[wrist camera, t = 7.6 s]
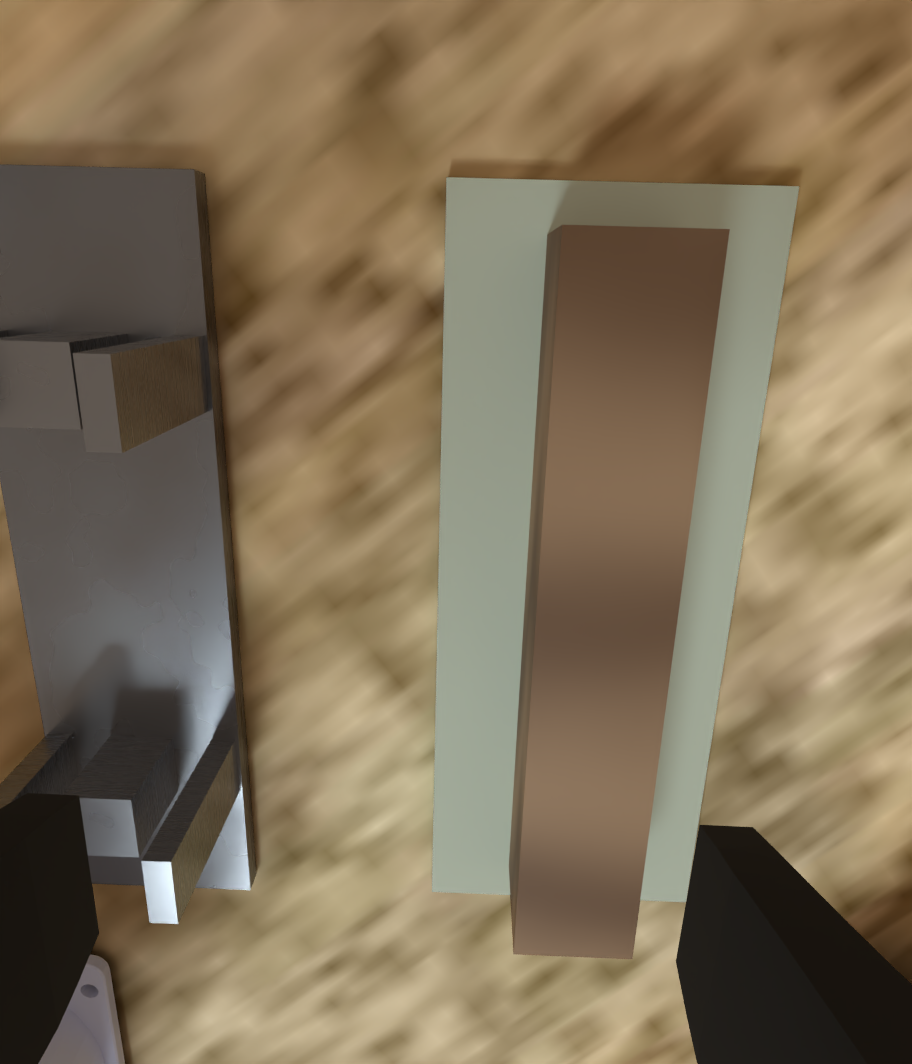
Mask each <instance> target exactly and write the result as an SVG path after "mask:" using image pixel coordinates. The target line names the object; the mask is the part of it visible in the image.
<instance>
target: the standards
mask: <svg viewBox="0 0 912 1064" xmlns="http://www.w3.org/2000/svg"><path fill="white" fill-rule="evenodd" d="M0 482H1V487H2V493H3V499H4V504H5V510H6V516H7V522H8V527H9V533H10V539H11V545H12V550H13V556H14V562H15V568H16V573H17V579H18V585H19V590H20V596H21V602H22V608H23V613H24V619H25V625H26V631H27V636H28V642H29V648H30V653H31V659H32V665H33V671H34V676H35V682H36V688H37V694H38V699H39V705H40V711H41V716H42V722H43V728H44V734H45V737H44V738H43V739H42V741H41V742H40V743H39V744H38V745H37V746H36V747H35V748H34V749H33V750H32V751H31V752H30V753H29V754H28V755H27V756H26V757H25V758H24V760H23V761H22V762H21V763H20V764H19V765H18V766H17V767H16V768H15V769H14V770H13V771H12V772H11V773H10V774H9V775H8V776H7V777H6V779H5V780H4V781H3V782H2V783H1V784H0V809H1V808H2V807H4V806H6V805H7V804H9V803H11V802H13V801H14V800H16V799H18V798H19V797H21V796H23V795H25V794H26V793H38V794H59V795H79V798H80V805H81V812H82V819H83V826H84V833H85V840H86V847H87V854H88V861H89V867H90V874H91V881H92V884H117V885H141V886H145V893H146V900H147V907H148V915H149V922H150V923H166V924H178V923H179V921H180V919H181V917H182V915H183V913H184V910H185V908H186V906H187V904H188V902H189V900H190V897H191V895H192V893H193V891H194V889H195V888H214V889H238V890H251V887H252V884H253V882H254V879H255V876H256V861H255V847H254V834H253V820H252V807H251V793H250V780H249V766H248V753H247V739H246V726H245V712H244V699H243V685H242V672H241V658H240V645H239V631H238V618H237V604H236V591H235V577H234V564H233V550H232V537H231V523H230V509H229V496H228V482H227V469H226V455H225V442H224V428H223V415H222V401H221V388H220V374H219V361H218V347H217V334H216V320H215V307H214V293H213V280H212V266H211V253H210V239H209V226H208V212H207V199H206V185H205V174H204V173H202V172H199V171H197V170H194V169H155V168H116V167H77V166H38V165H0Z"/></svg>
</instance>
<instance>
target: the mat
mask: <svg viewBox="0 0 912 1064" xmlns="http://www.w3.org/2000/svg"><path fill="white" fill-rule="evenodd" d="M798 192H799V186H767V185H728V184H689V183H650V182H611V181H572V180H533V179H494V178H455V177H447V179H446V229H445V278H444V327H443V376H442V426H441V475H440V524H439V574H438V623H437V672H436V721H435V771H434V820H433V869H432V892H450V893H474V894H498V895H510V880H509V853H510V837H511V820H512V804H513V787H514V771H515V755H516V738H517V722H518V705H519V689H520V673H521V656H522V640H523V623H524V607H525V591H526V574H527V558H528V541H529V525H530V509H531V492H532V476H533V459H534V443H535V427H536V410H537V394H538V377H539V361H540V345H541V328H542V312H543V295H544V279H545V263H546V246H547V234H549V233H550V232H552V231H553V230H555V229H556V228H558V227H559V226H561V225H595V226H632V227H670V228H707V229H730V231H729V239H728V246H727V254H726V261H725V269H724V276H723V284H722V291H721V299H720V306H719V314H718V321H717V329H716V336H715V344H714V351H713V358H712V366H711V373H710V381H709V388H708V396H707V403H706V411H705V418H704V426H703V433H702V441H701V448H700V456H699V463H698V471H697V478H696V486H695V493H694V501H693V508H692V516H691V523H690V531H689V538H688V546H687V553H686V561H685V568H684V576H683V583H682V591H681V598H680V606H679V613H678V621H677V628H676V635H675V643H674V650H673V658H672V665H671V673H670V680H669V688H668V695H667V703H666V710H665V718H664V725H663V733H662V740H661V748H660V755H659V763H658V770H657V778H656V785H655V793H654V800H653V808H652V815H651V823H650V830H649V838H648V845H647V853H646V860H645V868H644V875H643V883H642V890H641V898H640V900H645V901H669V902H686V898H687V892H688V885H689V879H690V873H691V867H692V860H693V854H694V848H695V841H696V835H697V829H698V822H699V816H700V810H701V803H702V797H703V791H704V785H705V778H706V772H707V766H708V759H709V753H710V747H711V740H712V734H713V728H714V721H715V715H716V709H717V703H718V696H719V690H720V684H721V677H722V671H723V665H724V658H725V652H726V646H727V640H728V633H729V627H730V621H731V614H732V608H733V602H734V595H735V589H736V583H737V576H738V570H739V564H740V558H741V551H742V545H743V539H744V532H745V526H746V520H747V513H748V507H749V501H750V494H751V488H752V482H753V476H754V469H755V463H756V457H757V450H758V444H759V438H760V431H761V425H762V419H763V412H764V406H765V400H766V394H767V387H768V381H769V375H770V368H771V362H772V356H773V349H774V343H775V337H776V330H777V324H778V318H779V312H780V305H781V299H782V293H783V286H784V280H785V274H786V267H787V261H788V255H789V249H790V242H791V236H792V230H793V223H794V217H795V211H796V204H797V198H798Z"/></svg>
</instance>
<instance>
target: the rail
mask: <svg viewBox="0 0 912 1064" xmlns="http://www.w3.org/2000/svg"><path fill="white" fill-rule="evenodd" d="M729 231H730V229H707V228H670V227H632V226H595V225H561V226H559V227H558V228H556V229H555V230H553V231H552V232H550V233H549V234H547V246H546V263H545V279H544V295H543V312H542V328H541V345H540V361H539V377H538V394H537V410H536V427H535V443H534V459H533V476H532V492H531V509H530V525H529V541H528V558H527V574H526V591H525V607H524V623H523V640H522V656H521V673H520V689H519V705H518V722H517V738H516V755H515V771H514V787H513V804H512V820H511V837H510V853H509V880H510V898H511V916H512V934H513V952H514V954H522V955H545V956H569V957H593V958H616V959H632V957H633V950H634V942H635V935H636V927H637V920H638V913H639V905H640V898H641V890H642V883H643V875H644V868H645V860H646V853H647V845H648V838H649V830H650V823H651V815H652V808H653V800H654V793H655V785H656V778H657V770H658V763H659V755H660V748H661V740H662V733H663V725H664V718H665V710H666V703H667V695H668V688H669V680H670V673H671V665H672V658H673V650H674V643H675V635H676V628H677V621H678V613H679V606H680V598H681V591H682V583H683V576H684V568H685V561H686V553H687V546H688V538H689V531H690V523H691V516H692V508H693V501H694V493H695V486H696V478H697V471H698V463H699V456H700V448H701V441H702V433H703V426H704V418H705V411H706V403H707V396H708V388H709V381H710V373H711V366H712V358H713V351H714V344H715V336H716V329H717V321H718V314H719V306H720V299H721V291H722V284H723V276H724V269H725V261H726V254H727V246H728V239H729Z"/></svg>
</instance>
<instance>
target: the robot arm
mask: <svg viewBox="0 0 912 1064" xmlns="http://www.w3.org/2000/svg"><path fill="white" fill-rule="evenodd" d="M98 934H99V930H98V923H97V916H96V909H95V902H94V895H93V888H92V881H91V874H90V867H89V861H88V854H87V847H86V840H85V833H84V826H83V819H82V812H81V805H80V798H79V795H59V794H38V793H26V794H25V795H23V796H21V797H19V798H18V799H16V800H14V801H13V802H11V803H9V804H7V805H6V806H4V807H2V808H1V809H0V1064H125V1060H124V1054H123V1047H122V1041H121V1035H120V1029H119V1023H118V1016H117V1010H116V1004H115V998H114V992H113V985H112V979H111V973H110V968H109V965H108V963H107V962H106V961H105V960H104V959H103V958H101V957H99V956H96V955H90V953H91V951H92V949H93V946H94V944H95V941H96V939H97V937H98ZM676 964H677V969H678V974H679V979H680V984H681V989H682V994H683V999H684V1004H685V1009H686V1014H687V1019H688V1023H689V1028H690V1033H691V1037H692V1042H693V1046H694V1051H695V1055H696V1060H697V1063H698V1064H912V984H911V983H909V982H908V981H907V980H906V979H905V978H904V977H903V976H902V975H901V974H900V973H899V972H898V971H897V970H896V969H895V968H894V967H893V966H892V965H891V964H890V963H889V962H888V961H887V960H886V959H885V958H883V957H882V956H881V955H880V954H879V953H878V952H877V951H876V950H875V949H874V948H873V947H872V946H871V945H870V944H869V943H868V942H867V941H866V940H865V939H864V938H863V937H862V936H861V935H860V934H859V933H858V932H857V931H856V930H855V929H854V928H853V927H852V926H851V925H850V924H849V923H848V922H847V921H846V920H845V919H844V918H843V917H842V916H841V915H840V914H839V913H838V912H837V911H836V910H835V909H834V908H833V907H832V906H831V905H830V904H829V903H828V902H827V901H826V900H825V899H824V898H823V897H822V896H821V895H820V894H819V893H818V892H817V891H816V890H815V889H814V888H813V887H812V886H811V885H810V884H809V883H808V882H807V881H806V880H805V879H804V878H803V877H802V876H801V875H800V874H799V873H798V872H797V871H796V870H795V869H794V868H793V867H792V866H791V865H790V864H789V863H788V862H787V861H786V860H785V859H784V858H783V857H782V856H781V855H780V854H779V853H778V852H777V851H776V850H775V849H774V848H773V847H772V846H771V845H770V844H769V843H768V842H767V841H766V840H765V839H764V838H763V837H762V836H761V835H760V834H759V833H758V832H757V831H756V830H755V829H754V828H753V827H734V826H712V825H700V826H699V831H698V837H697V843H696V849H695V855H694V860H693V866H692V872H691V878H690V884H689V889H688V895H687V901H686V907H685V912H684V918H683V924H682V930H681V936H680V941H679V947H678V953H677V959H676Z"/></svg>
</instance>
